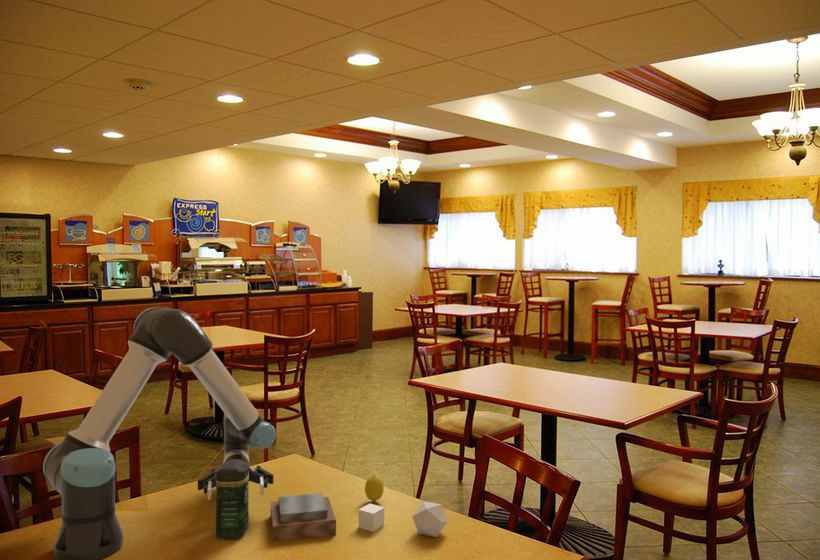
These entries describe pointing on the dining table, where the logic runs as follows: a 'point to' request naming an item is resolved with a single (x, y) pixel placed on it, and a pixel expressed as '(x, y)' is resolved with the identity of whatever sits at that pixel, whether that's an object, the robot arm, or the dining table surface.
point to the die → (430, 519)
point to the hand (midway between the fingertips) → (235, 492)
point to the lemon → (374, 488)
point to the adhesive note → (371, 517)
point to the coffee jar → (232, 499)
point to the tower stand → (302, 517)
